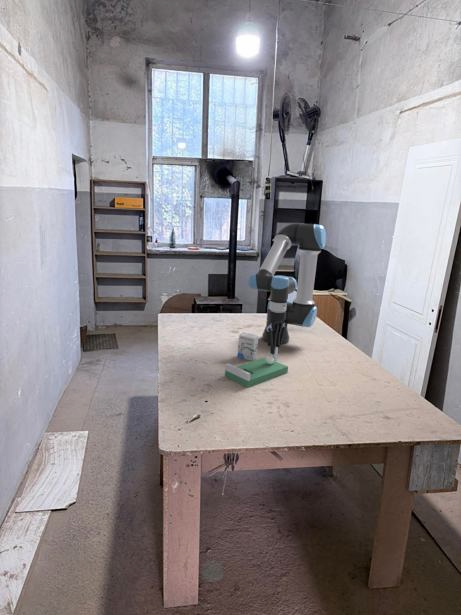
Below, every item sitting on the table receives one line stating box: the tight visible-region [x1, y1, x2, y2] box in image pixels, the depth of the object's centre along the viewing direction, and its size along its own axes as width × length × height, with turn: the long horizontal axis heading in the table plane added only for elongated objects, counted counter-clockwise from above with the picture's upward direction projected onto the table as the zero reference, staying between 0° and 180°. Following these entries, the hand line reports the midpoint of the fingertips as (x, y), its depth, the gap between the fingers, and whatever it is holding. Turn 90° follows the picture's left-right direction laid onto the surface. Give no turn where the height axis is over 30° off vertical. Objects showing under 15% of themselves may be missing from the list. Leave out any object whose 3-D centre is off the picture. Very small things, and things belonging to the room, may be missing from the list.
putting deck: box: [224, 356, 289, 388], centre depth 188 cm, size 14×26×6 cm, turn 133°
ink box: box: [237, 332, 259, 362], centre depth 207 cm, size 9×5×12 cm, turn 62°
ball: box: [265, 355, 274, 365], centre depth 193 cm, size 4×4×4 cm
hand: (273, 360), depth 195 cm, fingers closed
